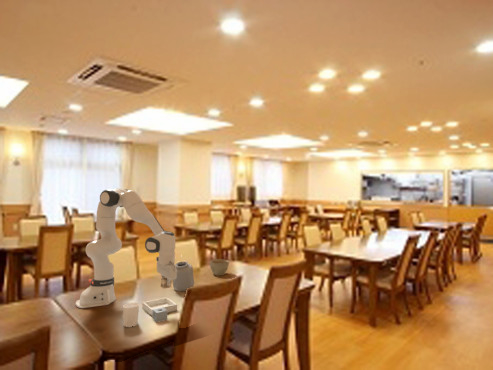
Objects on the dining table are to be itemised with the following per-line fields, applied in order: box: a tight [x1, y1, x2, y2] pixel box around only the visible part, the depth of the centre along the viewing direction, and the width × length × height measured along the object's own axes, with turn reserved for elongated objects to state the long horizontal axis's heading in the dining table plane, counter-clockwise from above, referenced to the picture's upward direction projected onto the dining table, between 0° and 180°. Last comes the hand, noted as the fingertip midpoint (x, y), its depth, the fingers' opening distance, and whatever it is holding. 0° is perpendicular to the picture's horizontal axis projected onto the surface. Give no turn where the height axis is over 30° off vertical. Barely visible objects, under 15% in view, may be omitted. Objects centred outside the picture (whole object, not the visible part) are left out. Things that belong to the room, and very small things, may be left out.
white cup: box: [122, 302, 140, 328], centre depth 166 cm, size 8×8×10 cm
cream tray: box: [142, 297, 178, 317], centre depth 187 cm, size 15×15×4 cm
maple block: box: [160, 277, 173, 289], centre depth 184 cm, size 4×4×5 cm
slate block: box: [151, 307, 168, 323], centre depth 173 cm, size 6×6×5 cm
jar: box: [172, 253, 195, 292], centre depth 225 cm, size 19×15×25 cm
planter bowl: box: [209, 258, 230, 276], centre depth 268 cm, size 16×16×11 cm
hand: (166, 283), depth 184 cm, fingers closed on maple block, 4 cm apart
